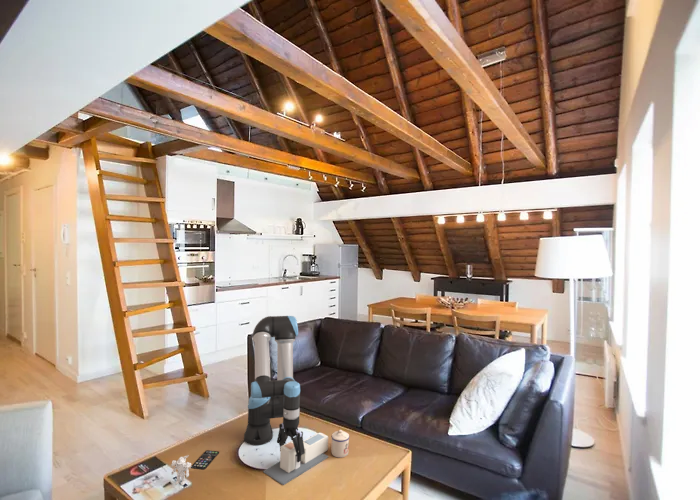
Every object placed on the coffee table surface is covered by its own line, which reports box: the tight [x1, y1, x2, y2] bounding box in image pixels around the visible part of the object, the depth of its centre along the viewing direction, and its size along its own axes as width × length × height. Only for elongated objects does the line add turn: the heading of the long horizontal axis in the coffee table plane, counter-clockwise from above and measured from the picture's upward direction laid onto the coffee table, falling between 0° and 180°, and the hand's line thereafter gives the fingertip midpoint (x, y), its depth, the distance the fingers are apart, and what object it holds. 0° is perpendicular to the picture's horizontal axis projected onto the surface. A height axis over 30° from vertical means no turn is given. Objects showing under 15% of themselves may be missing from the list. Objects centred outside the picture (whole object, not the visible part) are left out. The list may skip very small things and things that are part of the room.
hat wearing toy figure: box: [170, 454, 192, 486], centre depth 166 cm, size 9×4×12 cm, turn 81°
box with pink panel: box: [279, 440, 299, 473], centre depth 179 cm, size 6×7×10 cm
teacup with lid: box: [331, 429, 350, 458], centre depth 195 cm, size 12×9×12 cm
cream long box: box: [300, 432, 329, 464], centre depth 190 cm, size 6×17×7 cm, turn 141°
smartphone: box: [190, 449, 220, 471], centre depth 184 cm, size 7×1×15 cm
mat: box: [262, 452, 329, 486], centre depth 182 cm, size 14×29×1 cm, turn 141°
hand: (290, 463), depth 179 cm, fingers open, 9 cm apart
